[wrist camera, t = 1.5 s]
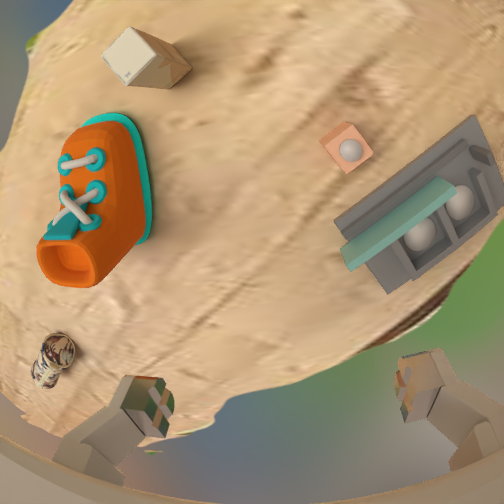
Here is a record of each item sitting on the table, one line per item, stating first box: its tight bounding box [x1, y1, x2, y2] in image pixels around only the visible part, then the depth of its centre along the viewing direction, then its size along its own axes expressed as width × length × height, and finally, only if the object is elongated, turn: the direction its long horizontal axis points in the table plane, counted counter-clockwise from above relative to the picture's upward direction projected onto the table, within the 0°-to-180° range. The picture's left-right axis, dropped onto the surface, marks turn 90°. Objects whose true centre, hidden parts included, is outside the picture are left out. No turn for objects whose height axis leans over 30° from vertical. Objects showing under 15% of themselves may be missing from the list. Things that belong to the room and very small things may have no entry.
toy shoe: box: [37, 113, 152, 288], centre depth 32 cm, size 12×20×15 cm, turn 2°
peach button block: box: [319, 122, 374, 175], centre depth 31 cm, size 4×4×6 cm
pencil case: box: [31, 334, 75, 389], centre depth 57 cm, size 22×8×10 cm, turn 135°
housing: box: [334, 115, 504, 295], centre depth 33 cm, size 26×15×6 cm, turn 132°
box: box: [101, 27, 192, 89], centre depth 26 cm, size 5×4×11 cm
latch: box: [340, 176, 457, 271], centre depth 34 cm, size 17×1×4 cm, turn 132°
